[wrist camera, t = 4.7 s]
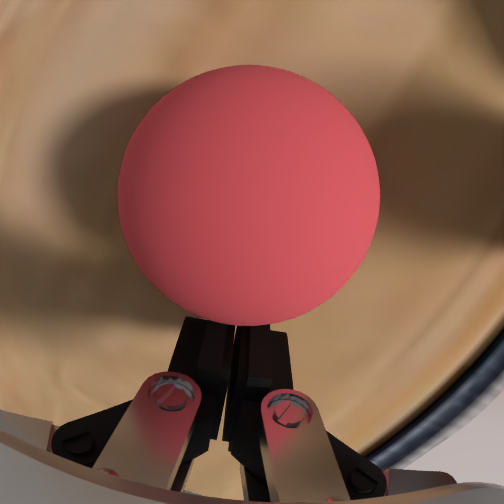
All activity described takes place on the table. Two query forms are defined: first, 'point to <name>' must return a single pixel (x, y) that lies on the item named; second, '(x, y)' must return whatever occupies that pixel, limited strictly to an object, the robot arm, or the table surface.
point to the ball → (248, 195)
